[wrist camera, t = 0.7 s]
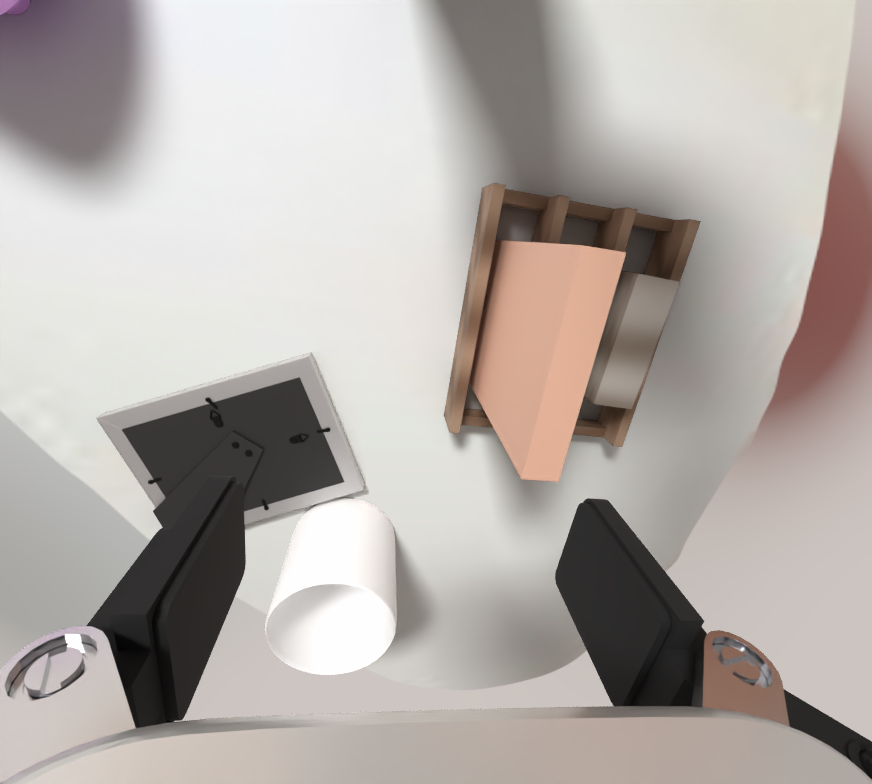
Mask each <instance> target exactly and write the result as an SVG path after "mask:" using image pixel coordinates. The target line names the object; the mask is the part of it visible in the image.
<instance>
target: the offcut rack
mask: <svg viewBox="0 0 872 784" xmlns="http://www.w3.org/2000/svg"><path fill="white" fill-rule="evenodd" d="M505 186H506V185H501V184H496V183H493V184H490V185H488V186H486V187H484V188H482V194H481V200H480V206H479V212H478V218H477V224H476V230H475V235H474V241H473V247H472V253H471V259H470V265H469V271H468V277H467V283H466V289H465V295H464V301H463V306H462V312H461V318H460V324H459V330H458V336H457V342H456V348H455V354H454V360H453V366H452V371H451V377H450V383H449V389H448V395H447V401H446V407H445V413H444V417H445V420H446V423H447V426H448V430H449V432H452V433H459V432H460V427H461V425H471V426H482V427H493V426H492V424H491V422H490V420H489V418H488V417H487V415H486V413H485V411H484V410H476V409H465V408H464V405H465V400H466V395H467V389H468V384H469V379H470V373H471V368H472V363H473V357H474V352H475V347H476V341H477V336H478V330H479V325H480V320H481V314H482V309H483V304H484V298H485V293H486V288H487V282H488V277H489V272H490V266H491V261H492V256H493V250H494V245H495V239H496V234H497V229H498V223H499V218H500V213H501V207H502V205H507V206H513V207H519V208H524V209H530V210H536V211H539V213H538V217H537V222H536V227H535V231H534V236H533V240H532V242H538V243H554V244H559V243H560V239H561V234H562V230H563V226H564V222H565V218H566V216H570V217H575V218H581V219H587V220H592V221H598V222H599V226H598V230H597V234H596V237H595V241H594V245H593V247H596V248H602V249H608V250H614V251H620V252H625V250H626V246H627V243H628V240H629V236H630V233H631V229H632V228H637V229H643V230H649V231H654V232H657V235H656V238H655V241H654V245H653V248H652V251H651V254H650V257H649V260H648V264H647V267H646V270H645V273H644V275H648V276H653V277H658V278H663V279H668V280H673V281H678V282H680V279H681V276H682V273H683V271H684V268H685V265H686V262H687V259H688V256H689V253H690V250H691V248H692V245H693V242H694V239H695V236H696V233H697V230H698V227H699V225H700V222H701V221H696V220H691V219H689V220H671V219H666V218H660V217H655V216H650V215H644V214H639V213H636V212H637V209H631V208H618V209H611V208H606V207H600V206H595V205H590V204H584V203H579V202H573V201H570V197H566V196H561V195H557V196H553V197H546V196H540V195H535V194H530V193H524V192H519V191H513V190H508V189H505ZM669 311H670V310H669ZM668 314H669V313H668ZM667 317H668V316H667ZM666 319H667V318H666ZM665 322H666V321H665ZM664 325H665V323H664ZM663 328H664V326H663ZM662 331H663V329H662ZM662 331H661V334H662ZM661 334H660V337H661ZM660 337H659V339H658V342H659V340H660ZM658 342H657V344H656V347H655V350H654V352H653V355H652V357H651V360H650V363H649V365H648V368H647V371H646V373H645V376H644V378H643V381H642V384H641V386H640V389H639V392H638V394H637V397H636V399H635V402H634V405H633V407H632V409H626V408H619V407H611V406H604V405H603V406H602V409H601V412H600V415H599V419H598V421H593V420H582V419H577V421H576V425H575V428H574V431H573V434H574V435H585V436H597V437H604V438H605V439H606V440H608V441H609V442H610V443H611V444H612V445H613V446H619V447H622V446H623V443H624V440H625V437H626V434H627V431H628V429H629V426H630V423H631V420H632V417H633V414H634V411H635V408H636V406H637V403H638V400H639V397H640V394H641V391H642V388H643V385H644V383H645V380H646V377H647V374H648V371H649V368H650V365H651V362H652V360H653V357H654V354H655V351H656V348H657V345H658Z"/></svg>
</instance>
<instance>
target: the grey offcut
mask: <svg viewBox="0 0 872 784" xmlns="http://www.w3.org/2000/svg"><path fill="white" fill-rule="evenodd" d="M679 284H680V282H678V281H673V280H668V279H663V278H658V277H653V276H648V275H643V274H638V273H632V272H626V271H621V273H620V276H619V279H618V283H617V286H616V289H615V293H614V296H613V300H612V303H611V306H610V310H609V313H608V316H607V320H606V323H605V327H604V330H603V333H602V337H601V340H600V344H599V347H598V350H597V354H596V357H595V360H594V364H593V367H592V371H591V374H590V377H589V381H588V384H587V387H586V391H585V394H584V397H586V398H587V399H588V400H589V401H590V402H592V403H593V404H597V405H604V406H611V407H619V408H626V409H632V407H633V405H634V402H635V399H636V397H637V394H638V392H639V389H640V386H641V384H642V381H643V378H644V376H645V373H646V371H647V368H648V365H649V363H650V360H651V357H652V355H653V352H654V350H655V347H656V344H657V342H658V339H659V337H660V334H661V331H662V329H663V326H664V323H665V321H666V318H667V316H668V313H669V310H670V308H671V305H672V303H673V300H674V297H675V295H676V292H677V289H678V287H679Z"/></svg>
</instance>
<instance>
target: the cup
mask: <svg viewBox="0 0 872 784" xmlns="http://www.w3.org/2000/svg"><path fill="white" fill-rule="evenodd" d="M396 628H397V603H396V558H395V534H394V529H393V526H392V524H391V522H390V520H389V518H388V517H387V516H386V515H385V514H384V512H382V511H381V510H380V509H378V508H377V507H376V506H374V505H372V504H370V503H368V502H365V501H361V500H358V499H349V498H341V499H332V500H329V501H325V502H322V503H320V504H318V505H316V506H314V507H312V508H311V509H310V510H308V511H307V512H306V513H305V514H304V515H303V516H302V517H301V518H300V520H299V522H298V523H297V525H296V527H295V530H294V533H293V536H292V539H291V542H290V545H289V548H288V552H287V555H286V558H285V561H284V564H283V567H282V571H281V574H280V577H279V580H278V583H277V586H276V590H275V593H274V596H273V599H272V602H271V605H270V609H269V612H268V615H267V619H266V623H265V637H266V639H267V642H268V644H269V646H270V648H271V649H272V651H273V652H274V653H275V655H276V656H277V657H278V658H280V659H281V660H282V661H283V662H285V663H286V664H288V665H290V666H292V667H293V668H295V669H298V670H302V671H304V672H308V673H314V674H324V675H325V674H326V675H333V674H342V673H347V672H351V671H355V670H358V669H360V668H362V667H365V666H367V665H369V664H370V663H372V662H374V661H375V660H377V659H378V658H379V657H380V656H381V655H382V654H383V653H384V652H385V651H386V650H387V649H388V648H389V646H390V645H391V643H392V642H393V640H394V637H395V634H396Z"/></svg>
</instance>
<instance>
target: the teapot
mask: <svg viewBox="0 0 872 784" xmlns="http://www.w3.org/2000/svg"><path fill="white" fill-rule="evenodd" d="M30 1H31V0H0V15H2V14H4V13H7V14H11V15H19V14H22V13H23V12H25V11H26V10H27V9H28V7H29V5H30Z"/></svg>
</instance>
